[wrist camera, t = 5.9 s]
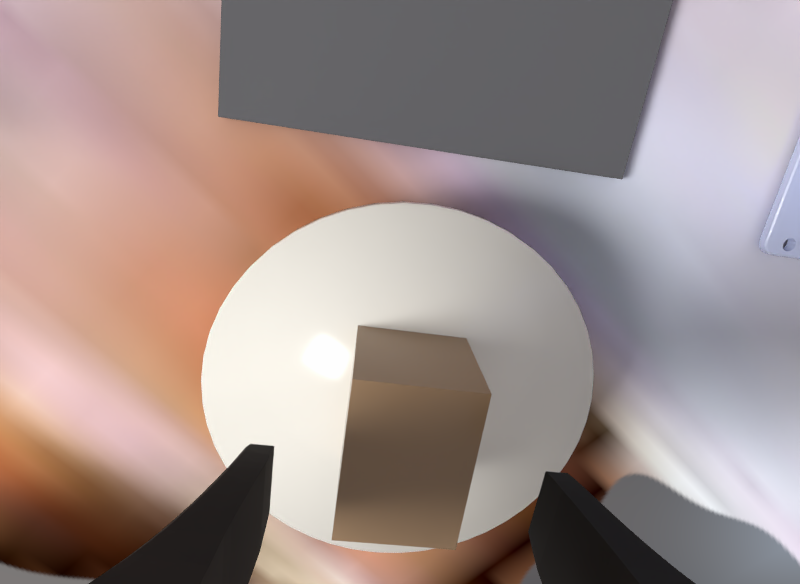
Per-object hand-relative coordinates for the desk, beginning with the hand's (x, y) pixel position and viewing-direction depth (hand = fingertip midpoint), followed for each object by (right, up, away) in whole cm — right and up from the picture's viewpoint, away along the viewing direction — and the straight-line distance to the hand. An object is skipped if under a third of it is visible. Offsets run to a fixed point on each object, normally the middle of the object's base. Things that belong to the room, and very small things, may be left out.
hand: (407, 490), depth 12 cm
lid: (0, +2, +4) cm, 4 cm away
